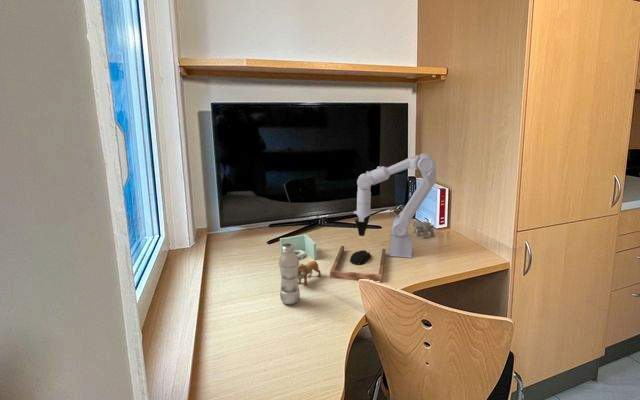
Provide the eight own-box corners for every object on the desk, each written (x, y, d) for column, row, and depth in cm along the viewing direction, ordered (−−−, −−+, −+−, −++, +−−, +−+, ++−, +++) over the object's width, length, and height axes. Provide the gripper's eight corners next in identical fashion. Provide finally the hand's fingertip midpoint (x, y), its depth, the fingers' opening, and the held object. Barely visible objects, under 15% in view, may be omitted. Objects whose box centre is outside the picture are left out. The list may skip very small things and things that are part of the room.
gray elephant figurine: (436, 235, 173) (437, 220, 171) (428, 242, 163) (429, 226, 162) (417, 232, 178) (418, 217, 176) (409, 238, 168) (410, 223, 167)
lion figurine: (303, 291, 123) (303, 268, 121) (291, 288, 126) (289, 265, 123) (323, 274, 136) (323, 252, 133) (311, 271, 138) (311, 249, 136)
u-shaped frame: (385, 254, 152) (385, 249, 151) (381, 282, 128) (381, 276, 128) (341, 251, 156) (341, 245, 155) (330, 277, 132) (329, 271, 132)
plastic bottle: (289, 294, 121) (287, 239, 116) (304, 300, 117) (302, 244, 112) (276, 302, 117) (272, 246, 111) (291, 309, 112) (288, 251, 107)
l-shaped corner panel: (280, 254, 154) (279, 238, 152) (306, 250, 159) (305, 234, 157) (289, 265, 144) (288, 248, 142) (316, 260, 148) (316, 243, 146)
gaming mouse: (376, 254, 153) (377, 245, 152) (360, 267, 141) (360, 258, 140) (363, 251, 156) (364, 242, 155) (346, 263, 145) (346, 254, 144)
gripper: (356, 197, 157) (355, 226, 161) (351, 206, 144) (351, 237, 147) (372, 198, 156) (371, 227, 159) (369, 207, 142) (368, 239, 146)
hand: (362, 232), depth 153 cm, fingers open, 7 cm apart
